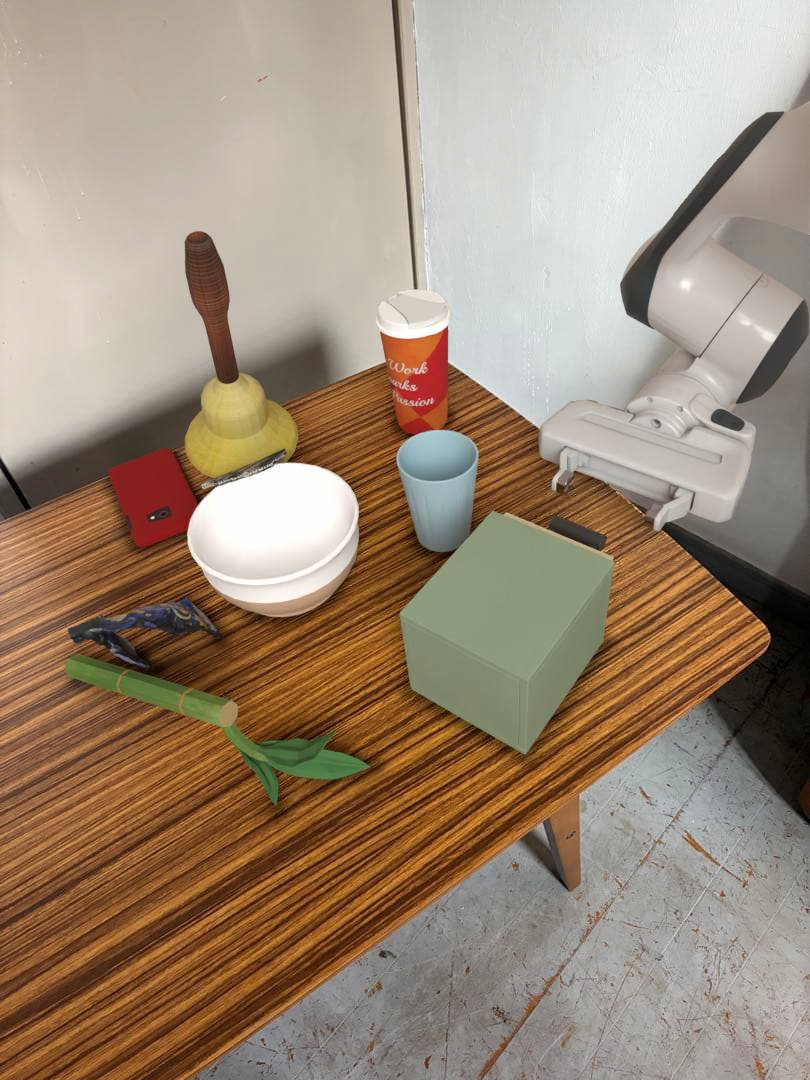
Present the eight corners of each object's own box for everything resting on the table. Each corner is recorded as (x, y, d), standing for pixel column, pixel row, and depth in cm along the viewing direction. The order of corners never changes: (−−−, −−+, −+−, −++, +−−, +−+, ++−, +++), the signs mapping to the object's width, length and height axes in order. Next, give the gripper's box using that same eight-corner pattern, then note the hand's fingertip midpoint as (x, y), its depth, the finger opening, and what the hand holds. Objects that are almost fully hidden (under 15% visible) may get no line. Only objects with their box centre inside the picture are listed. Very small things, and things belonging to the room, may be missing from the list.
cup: (447, 572, 77) (441, 493, 70) (390, 538, 81) (379, 460, 74) (495, 529, 81) (495, 449, 74) (439, 498, 85) (432, 420, 78)
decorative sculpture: (303, 441, 93) (225, 472, 93) (301, 437, 92) (223, 468, 93) (276, 465, 73) (179, 505, 74) (274, 460, 73) (176, 500, 74)
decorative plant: (97, 623, 74) (364, 695, 58) (130, 689, 78) (387, 771, 63) (44, 666, 69) (317, 755, 54) (82, 733, 74) (345, 833, 58)
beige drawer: (530, 547, 78) (532, 481, 71) (627, 590, 73) (638, 522, 67) (430, 668, 69) (422, 604, 63) (533, 725, 64) (536, 662, 58)
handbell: (196, 494, 82) (133, 298, 61) (175, 411, 88) (111, 208, 68) (311, 466, 84) (288, 268, 64) (282, 386, 91) (253, 183, 70)
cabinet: (493, 589, 75) (492, 510, 68) (603, 641, 70) (615, 561, 63) (410, 689, 68) (399, 613, 61) (525, 755, 63) (528, 681, 56)
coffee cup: (374, 421, 96) (357, 309, 85) (423, 391, 99) (413, 279, 88) (422, 450, 91) (411, 335, 80) (472, 417, 94) (467, 302, 84)
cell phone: (105, 467, 92) (108, 474, 93) (134, 544, 83) (137, 550, 83) (169, 444, 94) (172, 451, 95) (205, 516, 85) (207, 523, 85)
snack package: (100, 616, 77) (219, 591, 78) (109, 682, 76) (230, 656, 76) (46, 599, 65) (187, 570, 66) (56, 677, 64) (199, 646, 65)
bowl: (223, 661, 72) (199, 605, 66) (198, 545, 83) (176, 488, 77) (390, 607, 75) (380, 549, 69) (344, 501, 86) (333, 444, 80)
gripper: (576, 371, 84) (507, 443, 76) (774, 431, 74) (716, 520, 67) (573, 420, 88) (507, 492, 81) (758, 482, 78) (703, 570, 71)
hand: (603, 505), depth 74 cm, fingers open, 8 cm apart
